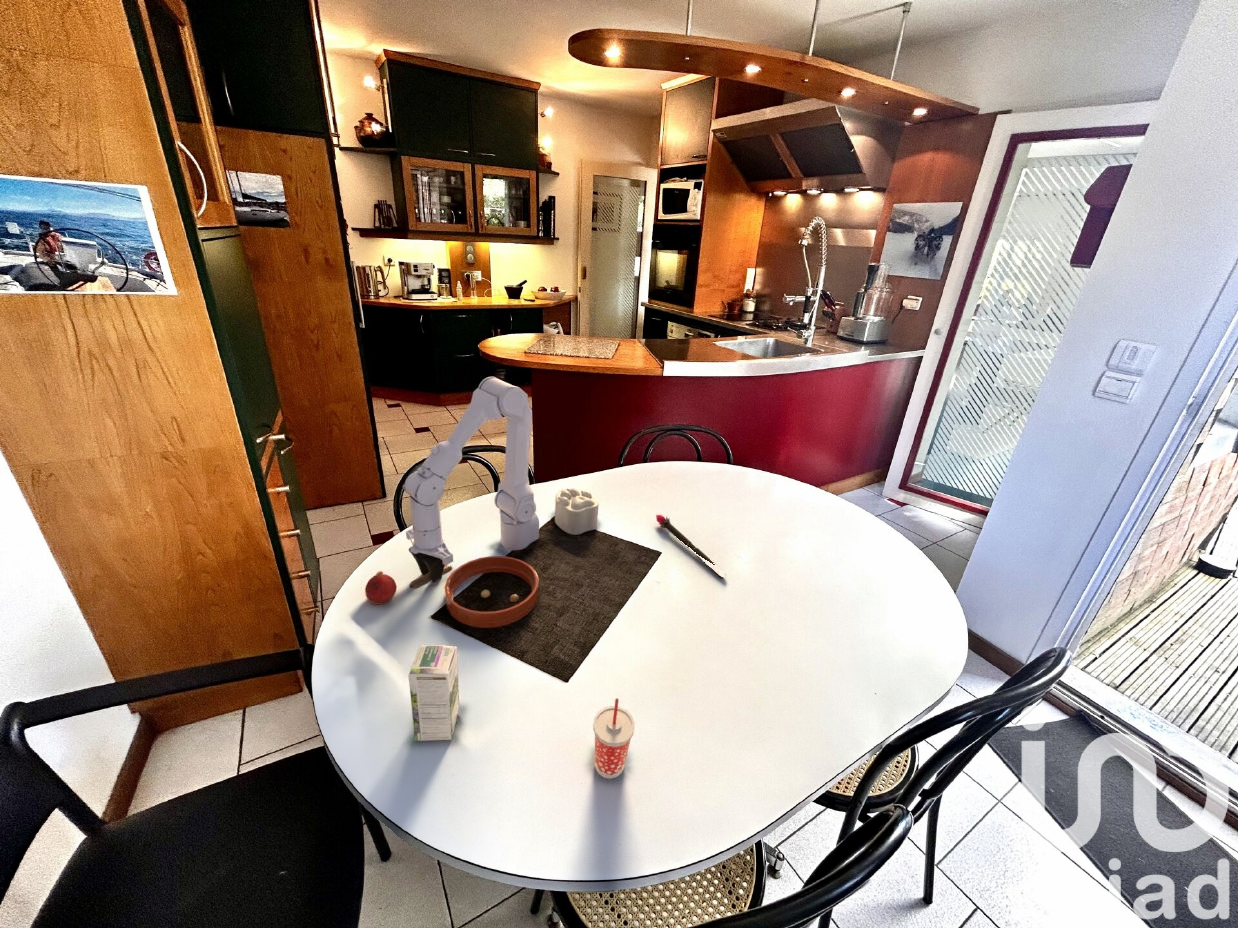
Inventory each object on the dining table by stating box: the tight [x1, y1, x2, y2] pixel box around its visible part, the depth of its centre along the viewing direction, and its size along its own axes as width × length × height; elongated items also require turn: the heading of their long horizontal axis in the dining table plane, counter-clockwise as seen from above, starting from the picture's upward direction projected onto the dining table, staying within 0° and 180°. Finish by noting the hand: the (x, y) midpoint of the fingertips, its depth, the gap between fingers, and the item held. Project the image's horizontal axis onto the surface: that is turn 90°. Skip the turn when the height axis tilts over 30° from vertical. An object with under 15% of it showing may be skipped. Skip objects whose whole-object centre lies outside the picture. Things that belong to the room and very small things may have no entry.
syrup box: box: [408, 644, 460, 742], centre depth 76 cm, size 6×6×14 cm
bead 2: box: [509, 593, 520, 603], centre depth 106 cm, size 2×2×2 cm
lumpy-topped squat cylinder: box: [554, 487, 599, 536], centre depth 138 cm, size 10×13×9 cm
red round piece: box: [364, 570, 398, 605], centre depth 102 cm, size 6×6×8 cm
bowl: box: [444, 555, 539, 629], centre depth 106 cm, size 19×19×5 cm
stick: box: [408, 563, 453, 589], centre depth 110 cm, size 10×2×2 cm, turn 143°
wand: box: [655, 514, 716, 565], centre depth 131 cm, size 4×4×30 cm
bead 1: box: [480, 589, 491, 599], centre depth 106 cm, size 2×2×2 cm
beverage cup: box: [592, 697, 636, 780], centre depth 73 cm, size 6×6×14 cm
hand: (431, 576), depth 110 cm, fingers open, 3 cm apart
